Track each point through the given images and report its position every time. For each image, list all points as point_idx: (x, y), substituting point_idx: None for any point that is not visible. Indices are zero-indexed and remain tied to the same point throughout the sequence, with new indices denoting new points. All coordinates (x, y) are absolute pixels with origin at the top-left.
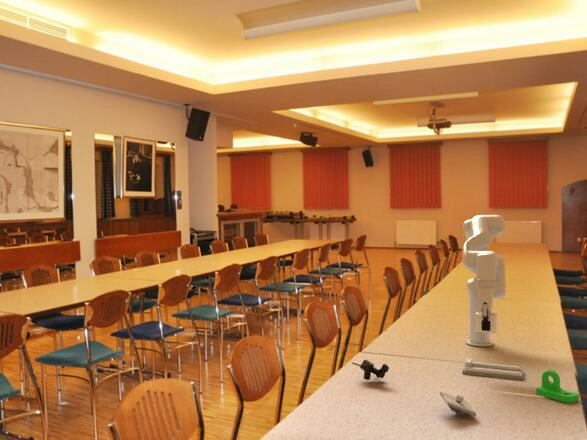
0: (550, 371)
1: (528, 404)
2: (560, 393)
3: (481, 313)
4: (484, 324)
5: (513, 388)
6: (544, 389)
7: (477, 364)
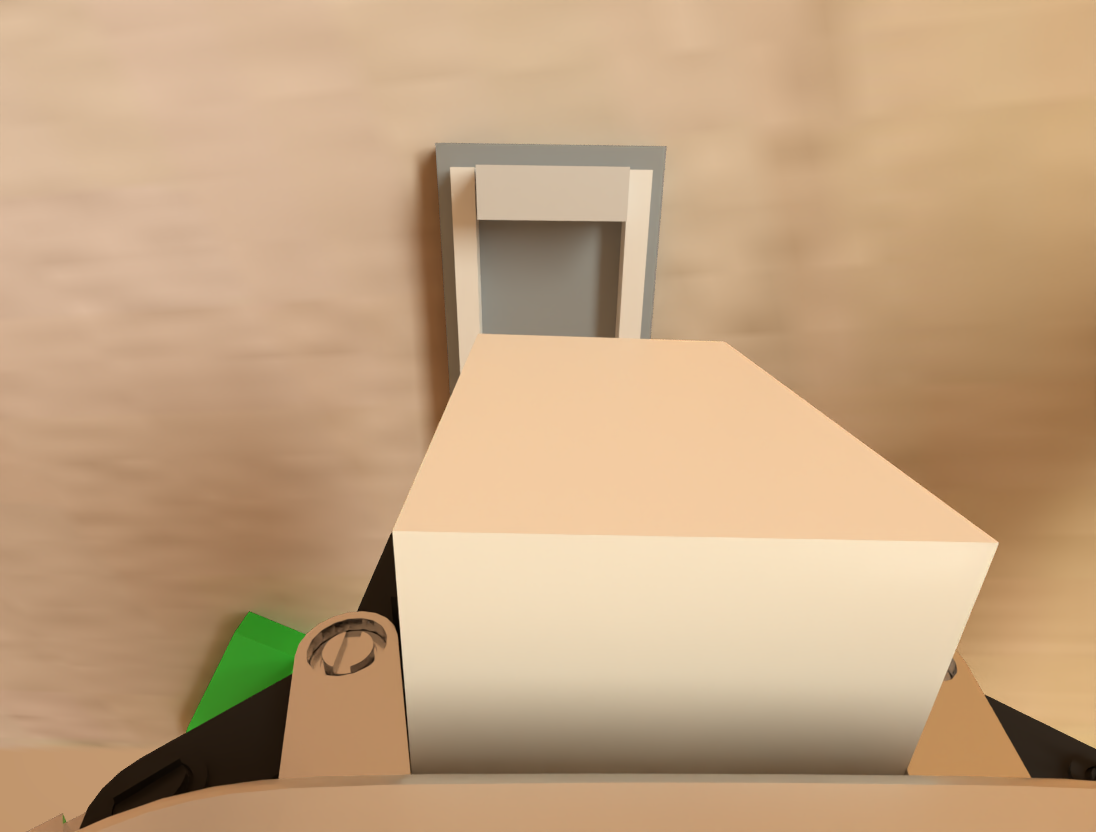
0: None
1: (38, 578)
2: None
3: (662, 728)
4: (374, 594)
5: (272, 508)
6: (243, 667)
7: (622, 268)
